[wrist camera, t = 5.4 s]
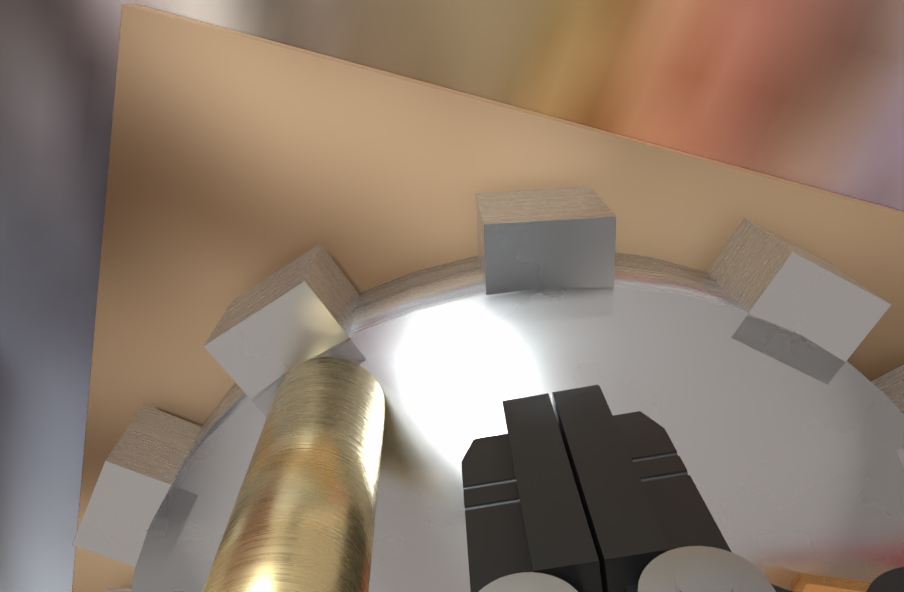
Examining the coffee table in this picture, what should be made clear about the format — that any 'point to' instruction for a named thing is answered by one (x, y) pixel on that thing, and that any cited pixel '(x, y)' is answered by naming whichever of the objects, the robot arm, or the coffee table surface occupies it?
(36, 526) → the coffee table surface
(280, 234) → the board
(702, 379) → the sprocket
